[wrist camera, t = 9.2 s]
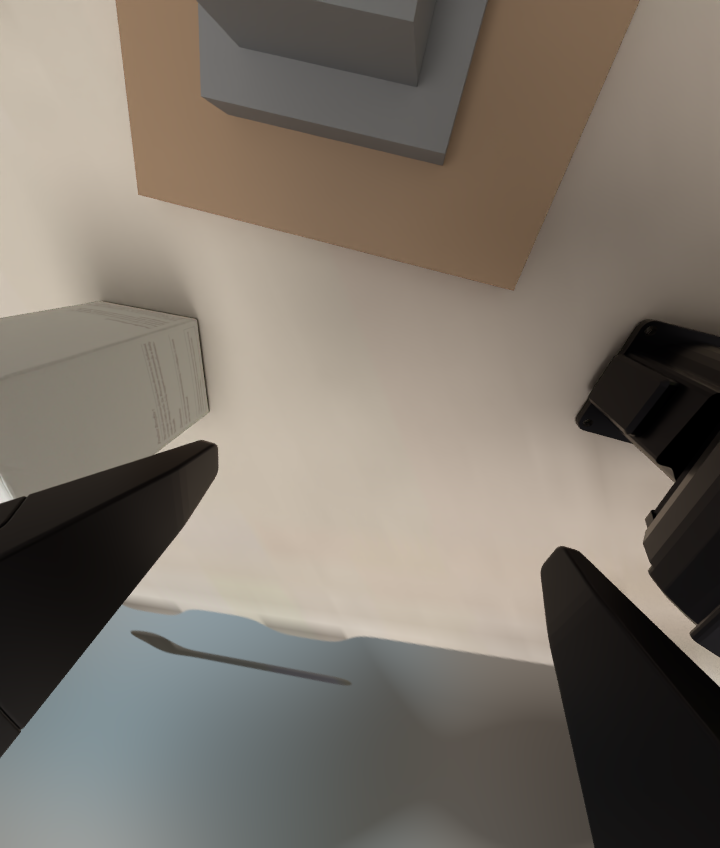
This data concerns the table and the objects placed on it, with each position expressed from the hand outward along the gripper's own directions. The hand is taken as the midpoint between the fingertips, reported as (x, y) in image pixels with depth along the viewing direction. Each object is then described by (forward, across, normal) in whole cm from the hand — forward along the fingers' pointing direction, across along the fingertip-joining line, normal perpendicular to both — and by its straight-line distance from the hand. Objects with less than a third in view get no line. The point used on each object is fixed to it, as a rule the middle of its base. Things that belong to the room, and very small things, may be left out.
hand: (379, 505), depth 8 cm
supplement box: (+13, +17, +5) cm, 22 cm away
